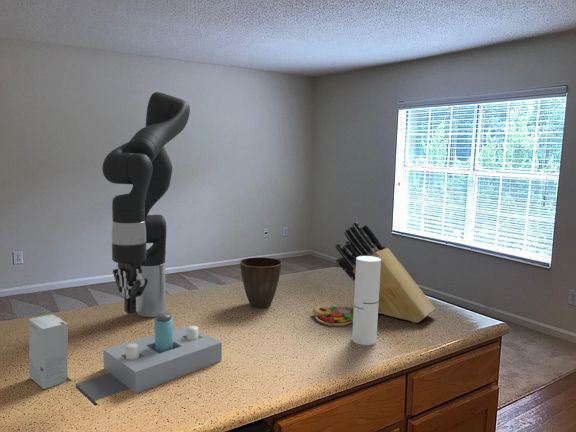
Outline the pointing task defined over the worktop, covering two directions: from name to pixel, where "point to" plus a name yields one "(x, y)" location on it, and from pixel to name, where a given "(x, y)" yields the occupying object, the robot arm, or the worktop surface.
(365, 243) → the knife block
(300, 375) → the worktop surface
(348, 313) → the toy food set
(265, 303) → the plant pot
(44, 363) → the skincare box
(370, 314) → the cylindrical container
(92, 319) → the worktop surface
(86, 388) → the mat
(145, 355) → the housing
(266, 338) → the worktop surface
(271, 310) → the worktop surface
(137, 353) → the white rounded cylinder
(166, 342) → the cartridge
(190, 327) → the plunger inner
